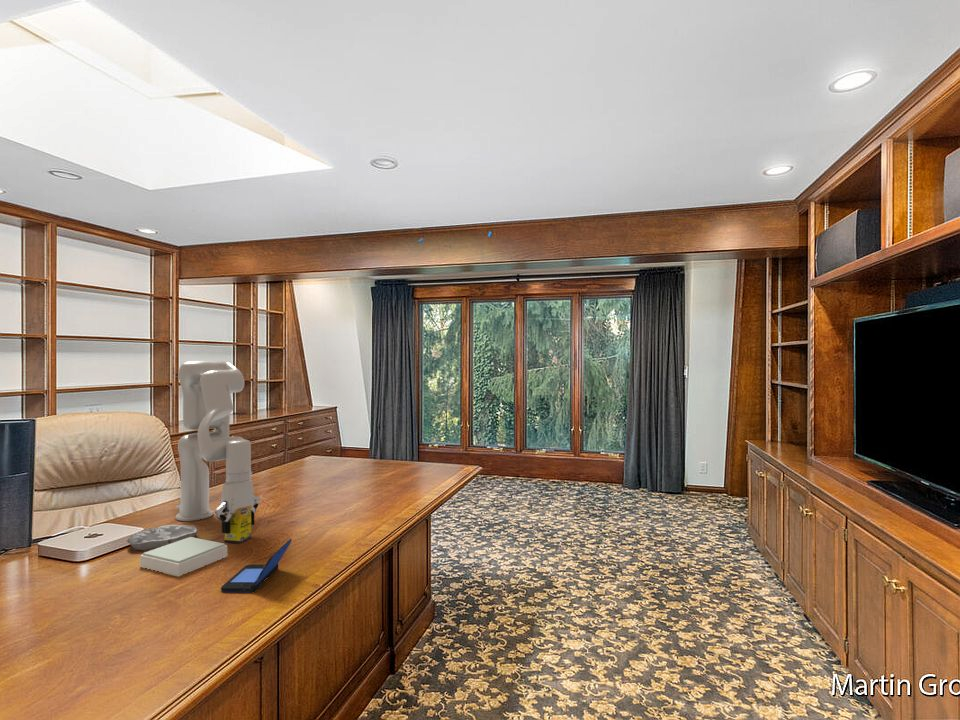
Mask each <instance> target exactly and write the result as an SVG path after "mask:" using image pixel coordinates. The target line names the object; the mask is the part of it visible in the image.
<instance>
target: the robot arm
mask: <svg viewBox="0 0 960 720" xmlns="http://www.w3.org/2000/svg"><path fill="white" fill-rule="evenodd" d="M178 380H179V384H180V386H181V390H182V397H183V398H182V423H183V426H184V428H185V429H186V430H189V431H197V432H196V433H189V434H184V435H183V436H181V437H180V438H179V440H178V441H177V451H178V457H179V463H180V503H179V505H176V506H175V510H179V512H178V513H177V514H176V515H175V519H176V521H180V522H193V521H199V520H200V519H201V520H204V519H207V518H210V517H212V516H213V515H214V514H215V515H216V518H218V520H219V521H220V522H221V533H222V534H224V535H225V534H230V521H229V519H230V517H231V516H232V514H236V513H237V510H239V509H242V508H245V507H249V506H251V526H254V525H255V513H256V512H257V509H258V507H259V504H260V500H261V497H259V496H257V495H255V492H254V491H255V490H254V484H253V479H252V477H251V476H252V475H253V471H252V468H251V467H252V462H251V461H252V447H251V446H252V445H251V441H250V440H249V439H244V438H243V437H242V436H230V414H231V413H232V412H233V411H234V405H233V400H232V397H231V393H240V392H242V391H243V390H244V388H245V378H244V375H243V373H242V372H241V370H240V369H238V367H236V366H235V365H233V364H232V363H231V362H229V361H227V360H225V361H224V360H192V361H191V360H190V361H186V362H183V363H181V365H180V366H179V369H178ZM210 429H213V431H210ZM224 460H225V482H224V483H223V484H222V485H223V486H222V490H221V496H220V505H219V506H218V507H217V508H215V509H214V510H213V509H210V470H209V469H210V468H209V466H208V465H207V464H206V462H208V463H209V462H218V461H224ZM204 461H205V462H204ZM227 514H228V515H227ZM226 515H227V516H226Z"/></svg>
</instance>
